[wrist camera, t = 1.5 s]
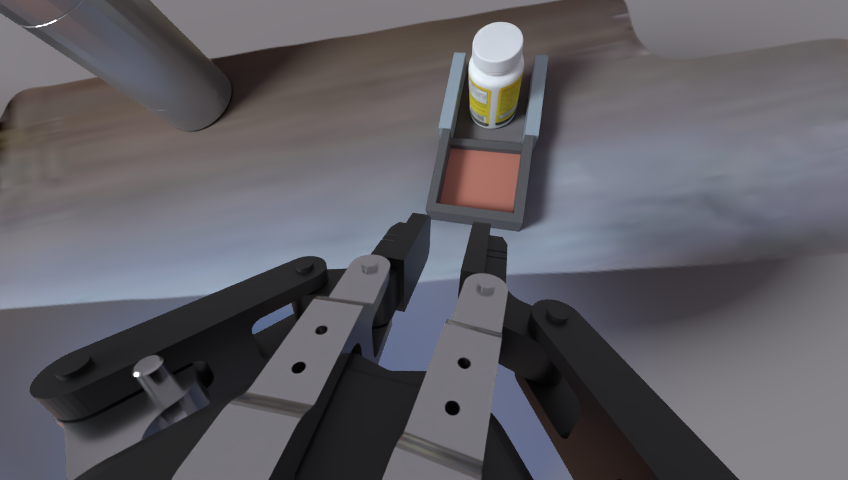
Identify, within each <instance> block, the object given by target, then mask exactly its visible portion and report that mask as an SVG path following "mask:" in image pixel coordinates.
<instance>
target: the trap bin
mask: <svg viewBox="0 0 848 480" xmlns="http://www.w3.org/2000/svg"><path fill="white" fill-rule="evenodd" d="M533 139H534V135H525V137H524V140H523V144H522V143H510V142H498V141H486V140H474V139H463V138H452V136H451V129H448V128H442V133H441V138H440V143H439V147H438V152H437V157H436V162H435V167H434V172H433V176H432V181H431V186H430V191H429V196H428V201H427V205H426V212H427V215H430V217H431V219H433V220H440V221H448V222H455V223H462V224H469V225H473V221H475V222H482V223H490V224H491V227H490V228H497V229H505V230H512V231H519V230H520V228H521V226H522V224H523V217H524V209H525V201H526V194H527V186H528V178H529V170H530V163H531V155H532V147H533Z"/></svg>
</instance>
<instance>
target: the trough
mask: <svg viewBox="0 0 848 480" xmlns="http://www.w3.org/2000/svg"><path fill="white" fill-rule="evenodd" d="M548 56H549V55H536V57H535V61H534V65H533V70H532V74H531V81H530V88H529V95H528V103H527V110H526V117H525V124H524V132H523V139H522V144H523V140H524V137H525V135H534V139H533V147H532V150H534V147H535V144H536V142H537V139H538V136H539V128H540V120H541V112H542V104H543V96H544V88H545V80H546V72H547V64H548ZM465 76H466V53H454V56H453V61H452V66H451V71H450V75H449V80H448V85H447V90H446V95H445V99H444V104H443V109H442V114H441V118H440V123H439V133H440V138H441V133H442V128H448V129H451V136H452V138H453V137H454V132H455V127H456V122H457V117H458V112H459V106H460V101H461V96H462V91H463V86H464V81H465Z"/></svg>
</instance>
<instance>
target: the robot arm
mask: <svg viewBox="0 0 848 480" xmlns="http://www.w3.org/2000/svg"><path fill="white" fill-rule="evenodd" d="M0 13H1V14H2V15H4V16H5V17H7V18H9V19H10V20H11V21H13V22H14V23H16V24H18V25H19V26H21V27H22V28H24V29H25V30H27V31H28V32H30V33H32V34H33V35H35V36H36V37H38V38H39V39H41V40H42V41H44V42H45V43H47V44H48V45H50V46H51V47H53V48H55V49H56V50H58V51H59V52H61V53H62V54H64V55H65V56H67V57H68V58H70V59H71V60H73V61H74V62H76V63H77V64H79V65H81V66H82V67H84V68H85V69H87V70H88V71H90V72H91V73H93V74H94V75H96V76H97V77H99V78H100V79H102V80H103V81H105V82H107V83H108V84H110V85H111V86H113V87H114V88H116V89H117V90H119V91H120V92H122V93H123V94H125V95H126V96H128V97H130V98H131V99H133V100H134V101H136V102H137V103H139V104H140V105H142V106H143V107H145V108H146V109H148V110H149V111H151V112H152V113H154V114H155V115H157V116H158V117H160V118H161V119H163V120H165V121H166V122H168V123H169V124H171V125H172V126H174V127H175V128H177V129H179V130H183V131H195V130H199V129H202V128H204V127H206V126H208V125H210V124H211V123H213V122H214V121H215V120H217V119H218V118H219V117H220V116H221V114H222V113H223V112H224V111H225V109H226V107H227V106H228V104H229V101H230V98H231V92H232V89H231V84H230V81H229V79H228V78H227V77H226V75H225V74H224V73H223V72H222V71H221V70H220V69H219V68H218V67H217V66H216V65H215V64H214V63H213V62H212V61H211V60H210V59H209V58H207V57H206V56H205V55H204V54H203V53H202V51H201V50H200V49H199V48H198V47H197V46H196V45H195V44H194V43H193V42H192V41H191V40H189V39H188V37H187V36H185V35H184V34H183V33H182V32H181V31H180V30H179V29H178V28H177V27H176V26H175V25H174V24H173V23H172V22H171V21H170V20H169V19H168V18H167V17H166V16H165V15H164V14H163V13H162V12H161V11H160V10H159V9H158V8H157V7H156V6H155V5H154V4H153V3H152V2H151V1H150V0H0ZM430 225H431V217H430V215H425V214H418V213H412V215H411V216H410V218H409V219H408V221H407V222H406V223H402V222H399V223H397V224H395V225H394V226H392V227H391V228H390V229H389V230H388V232H387V233H386V235H385V236H384V237H383V238H382V240H381V241H380V242H379V244H378V245H377V247H376V248H375V249H374V251H373V252H372V253H371V255H365V256H361V257H358V258H356V259H355V260H354V261H352V263H351V264H350V265H349V267H348V268H347V269H327V266H326V262H325V261H324V260H323V259H322V258H319V257H315V256H306V257H301V258H298V259H295V260H292V261H290V262H288V263H285V264H283V265H280V266H278V267H276V268H273V269H271V270H268V271H266V272H264V273H261V274H259V275H256V276H254V277H251V278H249V279H247V280H244V281H242V282H239V283H237V284H235V285H232V286H230V287H227V288H225V289H223V290H220V291H218V292H215V293H213V294H211V295H208V296H206V297H203V298H201V299H199V300H196V301H194V302H191V303H189V304H187V305H184V306H182V307H180V308H177V309H175V310H172V311H170V312H167V313H165V314H163V315H160V316H158V317H155V318H153V319H150V320H148V321H146V322H143V323H141V324H139V325H136V326H134V327H132V328H129V329H126V330H124V331H122V332H119V333H117V334H114V335H112V336H110V337H107V338H105V339H102V340H100V341H97V342H95V343H93V344H90V345H88V346H85V347H83V348H81V349H78V350H76V351H73V352H71V353H69V354H67V355H65V356H63V357H61V358H60V359H58V360H56V361H55V362H53V363H52V364H50V365H49V366H47V367H46V368H45V369H44V370H43V371H41V372H40V374H38V375H37V377H36V378H35V379H34V381H33V382H32V384H31V386H30V393H31V395H32V396H33V397H34V398H35V399H37V400H38V401H39V402H40V403H41V404H42V405H43V406H44V407H45V408H46V409H47V410H48V411H50V413H52V417H53V419H54V420H55V421H56V422H57V423H59V424H60V425H61V426H62V427H63V428H64V439H65V459H66V478H67V479H66V480H533V478H532V476H531V475H530V473H529V471H528V469H527V468H526V466H525V464H524V463H523V461H522V459H521V458H520V456H519V454H518V452H517V451H516V449H515V447H514V445H513V444H512V442H511V440H510V439H509V437H508V435H507V434H506V432H505V430H504V429H503V427H502V425H501V424H500V423H499V422H498V420H497V419H496V418H495V416H494V415H493V414H492V413H491V406H492V399H493V392H494V386H495V379H496V372H497V367H498V363H499V364H501V365H503V366H504V367H506V368H508V369H510V370H512V371H514V372H515V377H516V380H517V382H518V384H519V386H520V387H521V389H522V391H523V393H524V394H525V396H526V398H527V399H528V401H529V403H530V405H531V406H532V408H533V410H534V411H535V413H536V415H537V417H538V419H539V420H540V422H541V424H542V425H543V427H544V429H545V431H546V432H547V434H548V436H549V438H550V439H551V441H552V443H553V445H554V446H555V448H556V450H557V452H558V453H559V455H560V457H561V459H562V460H563V462H564V464H565V465H566V467H567V468H568V471H569V473H570V474H571V476H572V478H573V479H574V480H739V479H738V478H737V477H736V476H735V475H734V474H733V473H732V472H731V471H730V470H729V469H728V468H727V467H726V466H725V465H724V464H723V462H722V461H721V460H720V459H719V458H718V457H717V456H716V455H715V454H714V453H713V452H712V451H711V450H710V449H709V448H708V447H707V446H706V445H705V444H704V443H703V442H702V441H701V440H700V439H699V438H698V436H697V435H696V434H695V433H694V432H693V431H692V430H691V429H690V428H689V427H688V426H687V425H686V424H685V423H684V422H683V421H682V420H681V419H680V418H679V417H678V416H677V415H676V414H675V413H674V412H673V410H672V409H671V408H670V407H669V406H668V405H667V404H666V403H665V402H664V401H663V400H662V399H661V398H660V397H659V396H658V395H657V394H656V393H655V392H654V391H653V390H652V389H651V388H650V387H649V386H648V385H647V384H646V382H645V381H644V380H643V379H642V378H641V377H640V376H639V375H638V374H637V373H636V372H635V371H634V370H633V369H632V368H631V367H630V366H629V365H628V364H627V363H626V362H625V361H624V360H623V359H622V358H621V357H620V356H619V354H618V353H616V351H615V350H614V349H613V348H612V347H611V346H610V345H609V344H608V343H607V342H606V341H605V340H604V339H603V338H602V337H601V336H600V335H599V334H598V333H597V332H596V331H595V330H594V329H593V328H592V327H591V326H590V324H589V323H588V322H587V321H586V320H585V319H584V318H583V317H582V316H581V315H580V314H579V313H578V312H577V311H576V310H575V309H573V308H572V307H571V306H569V305H567V304H565V303H563V302H560V301H556V300H541V301H538V302H537V303H535V304H534V305H533V306H531V305H529V304H527V303H524V302H522V301H520V300H518V299H517V298H515V297H514V296H513V295H512V294H511V293H510V292H509V291H508V288H507V285H506V267H507V243H506V242H505V240H504V239H503V237H497V236H491V235H489V234H490V227H491V224H490V223H482V222H475V221H473V225H472V229H471V233H470V237H469V241H468V245H467V249H466V253H465V256H464V260H463V264H462V268H461V275H460V285H459V294H458V301H457V304H456V306H455V309H454V312H453V315H452V317H451V320H449V319H447V321H446V322H445V325H444V327H443V330H442V333H441V335H440V338H439V341H438V343H437V346H436V349H435V351H434V354H433V357H432V359H431V362H430V365H429V367H428V370H427V371H390V370H387V369H385V368H383V367H381V366H379V365H378V364H379V361H380V358H381V355H382V352H383V350H384V347H385V344H386V341H387V338H388V335H389V332H390V330H391V327H392V317H393V315H394V313H395V311H396V310H398V311H403V312H405V310H406V307H407V305H408V303H409V300H410V298H411V296H412V293H413V291H414V289H415V287H416V284H417V282H418V280H419V278H420V275H421V273H422V271H423V268H424V266H425V264H426V261H427V259H428V254H429V248H430ZM290 303H292V307H293V311H294V314H292V315H290V316H288V317H287V318H285V319H283V320H281V321H279V322H277V323H275V324H273V325H272V326H270V327H268V328H266V329H264V330H262V331H260V332H258V333H256V334H252V327H253V325H254V323H255V322H256V321H257V320H259V319H260V318H262V317H264V316H266V315H268V314H270V313H272V312H274V311H276V310H278V309H280V308H282V307H284V306H285V305H288V304H290Z"/></svg>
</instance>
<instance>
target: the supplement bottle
mask: <svg viewBox="0 0 848 480" xmlns="http://www.w3.org/2000/svg"><path fill="white" fill-rule="evenodd" d="M522 48H523V35H522V33H521V31H520V30H519V29H518V28H517V27H516V26H515V25H513V24H510V23H506V22H496V23H491V24H489V25H487V26H485V27H483V28H482V29H481V30H479V31H478V33H477V34H476V35H475V37H474V40H473V50H472V57H471V59H470V62H469V71H468V72H469V98H470V114H471V117H472V119H473V121H474V122H475V123H476V124H477V125H479V126H481V127H483V128H488V129H494V128H499V127H502V126H504V125H506V124H508V123H509V122H510V121H511V120H512V118H513V117H514V115H515V112H516V108H517V102H518V97H519V91H520V86H521V81H522V75H523V70H524V58H523V55H522Z"/></svg>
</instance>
